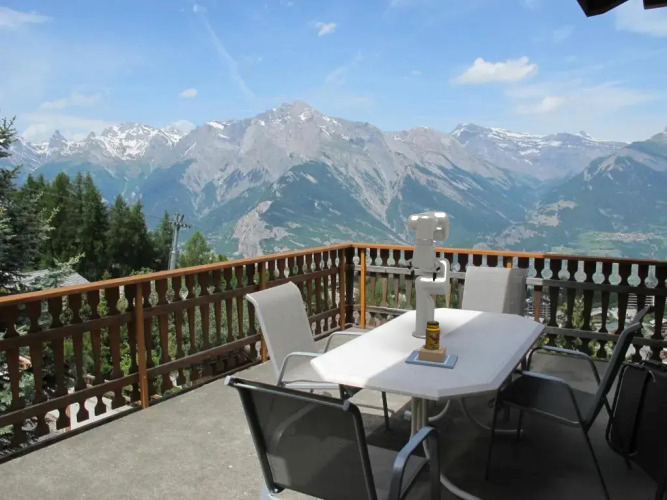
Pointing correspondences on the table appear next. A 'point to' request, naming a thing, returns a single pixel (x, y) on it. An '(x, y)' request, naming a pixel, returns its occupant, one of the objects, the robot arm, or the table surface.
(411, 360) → the board
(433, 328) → the condiment
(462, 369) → the table surface
